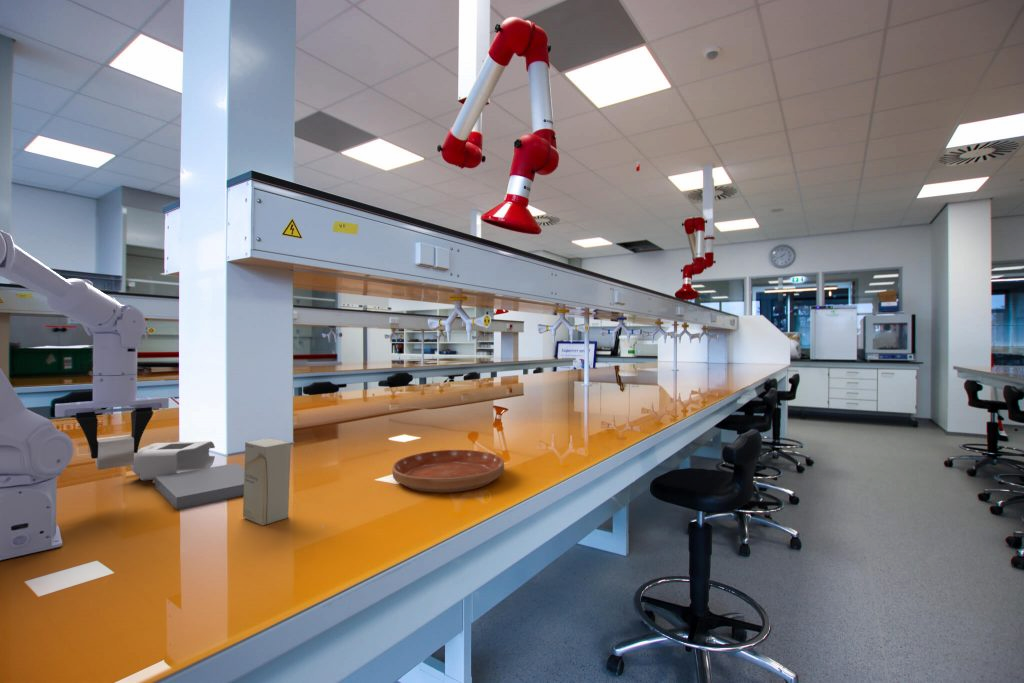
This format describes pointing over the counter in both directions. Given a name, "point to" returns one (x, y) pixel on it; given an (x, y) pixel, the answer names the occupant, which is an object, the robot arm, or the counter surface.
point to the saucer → (448, 470)
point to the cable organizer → (171, 458)
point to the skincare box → (266, 480)
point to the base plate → (201, 485)
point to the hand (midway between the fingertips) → (114, 454)
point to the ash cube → (115, 452)
